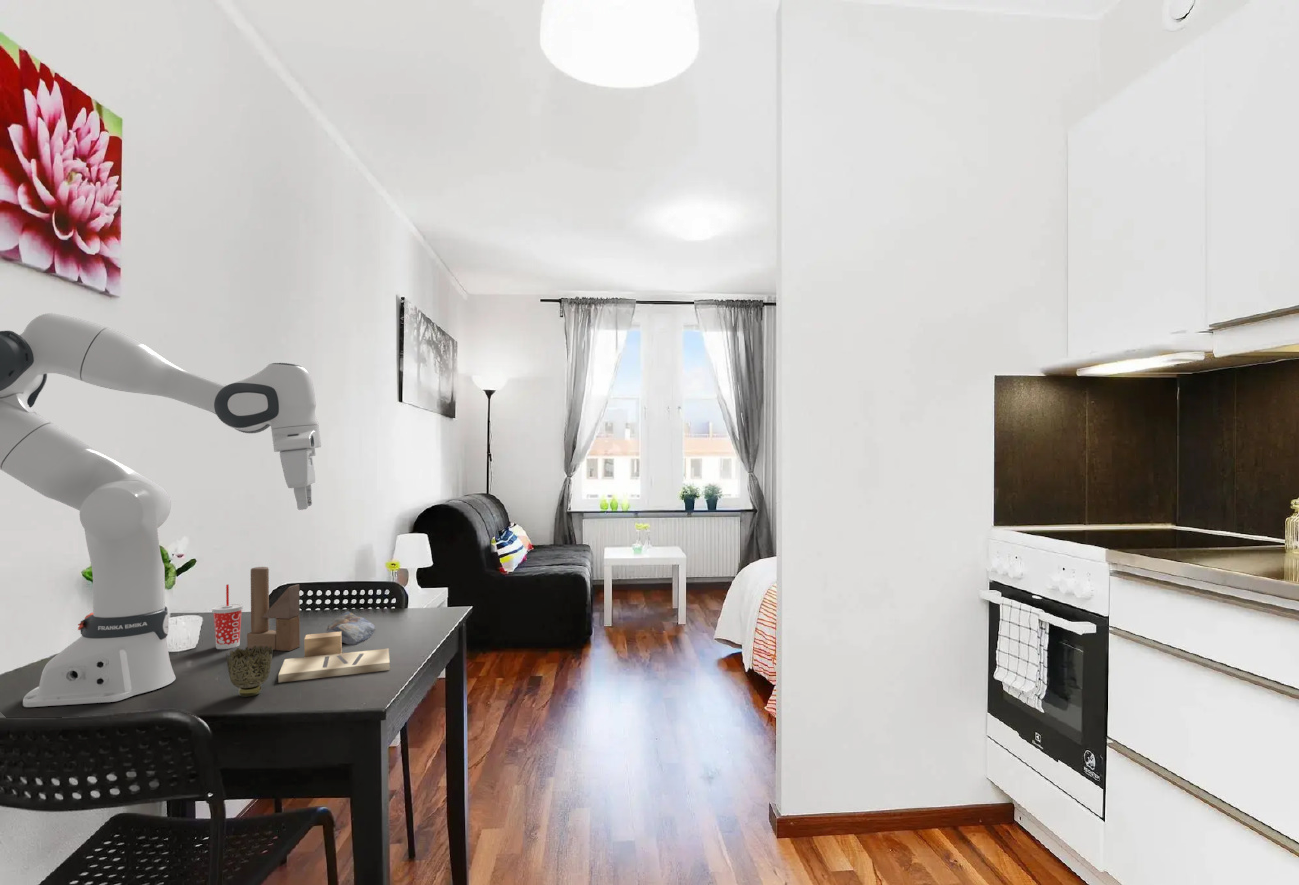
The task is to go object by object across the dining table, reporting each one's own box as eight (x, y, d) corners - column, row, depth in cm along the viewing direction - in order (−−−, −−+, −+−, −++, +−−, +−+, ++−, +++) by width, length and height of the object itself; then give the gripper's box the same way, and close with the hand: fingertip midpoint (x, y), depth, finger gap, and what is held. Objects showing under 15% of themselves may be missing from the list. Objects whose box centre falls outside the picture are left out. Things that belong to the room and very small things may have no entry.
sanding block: (304, 663, 151) (304, 639, 151) (306, 658, 155) (306, 634, 155) (341, 659, 154) (340, 635, 154) (341, 654, 157) (341, 631, 157)
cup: (239, 688, 135) (238, 645, 135) (280, 686, 136) (279, 644, 136) (218, 702, 128) (217, 656, 128) (261, 700, 128) (261, 655, 128)
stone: (366, 635, 165) (322, 623, 164) (359, 655, 165) (315, 643, 164) (383, 616, 182) (344, 605, 181) (377, 635, 182) (338, 624, 181)
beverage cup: (220, 651, 160) (220, 588, 160) (206, 647, 164) (206, 585, 164) (248, 645, 165) (248, 583, 165) (234, 641, 169) (234, 581, 169)
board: (278, 682, 138) (278, 674, 138) (285, 666, 148) (285, 659, 148) (389, 669, 145) (389, 662, 145) (388, 655, 156) (388, 648, 156)
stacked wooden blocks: (289, 651, 160) (289, 569, 160) (246, 649, 162) (245, 569, 162) (300, 646, 163) (299, 567, 163) (258, 645, 165) (257, 566, 165)
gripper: (286, 443, 158) (294, 506, 158) (273, 442, 139) (282, 513, 139) (317, 440, 160) (325, 502, 161) (309, 438, 141) (318, 509, 141)
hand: (305, 507), depth 150 cm, fingers open, 8 cm apart
